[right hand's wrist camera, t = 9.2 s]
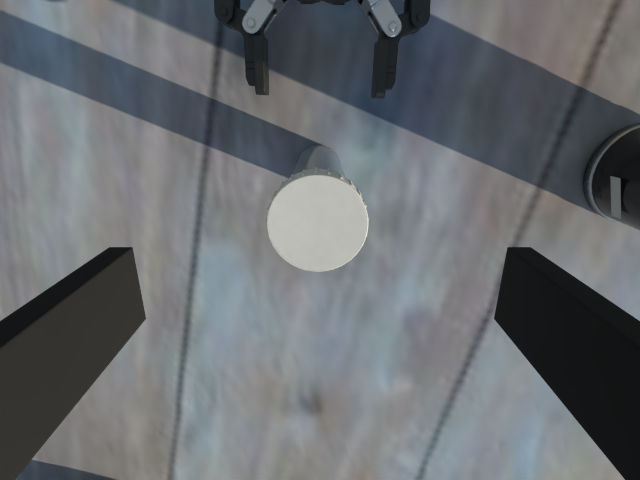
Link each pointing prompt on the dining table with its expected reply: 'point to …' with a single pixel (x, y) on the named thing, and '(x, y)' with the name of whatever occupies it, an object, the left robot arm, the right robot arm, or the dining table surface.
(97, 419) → the dining table surface
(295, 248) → the lid
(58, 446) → the dining table surface
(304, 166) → the bottle
